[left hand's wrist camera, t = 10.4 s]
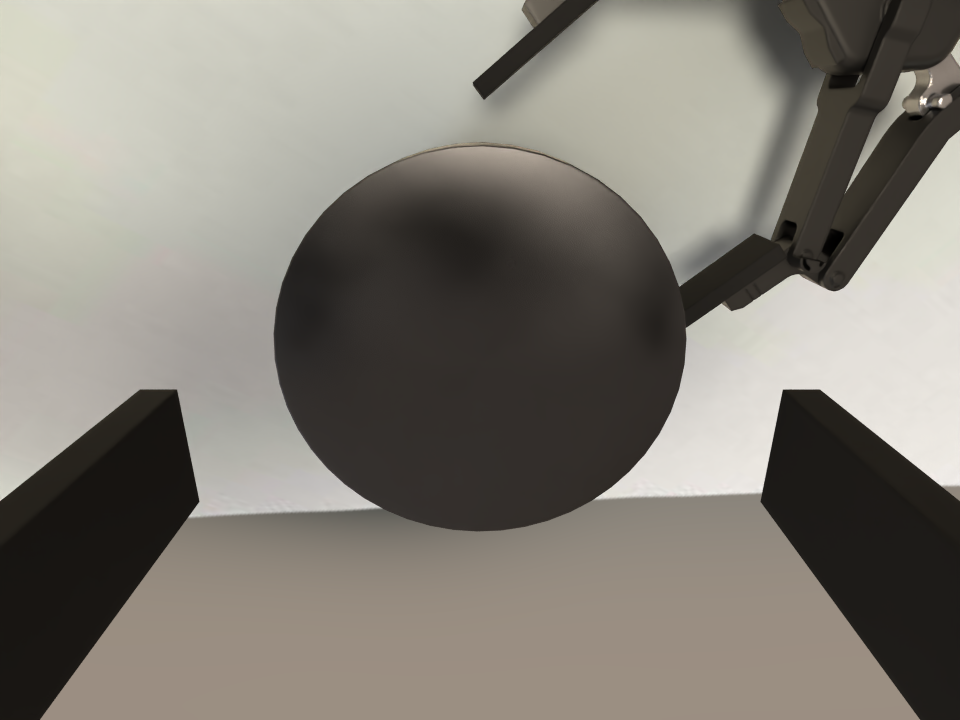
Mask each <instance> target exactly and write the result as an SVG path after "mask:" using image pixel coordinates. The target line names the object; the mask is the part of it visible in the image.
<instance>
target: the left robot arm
mask: <svg viewBox="0 0 960 720" xmlns="http://www.w3.org/2000/svg"><path fill="white" fill-rule="evenodd" d="M198 503H199V497H198V492H197V487H196V482H195V477H194V472H193V467H192V462H191V457H190V452H189V447H188V442H187V437H186V432H185V427H184V422H183V417H182V412H181V407H180V402H179V397H178V392H177V390H139V391H138V392H137V393H135V394H134V395H133V396H132V397H130V398H129V399H128V400H126V401H125V402H124V403H123V404H121V405H120V406H119V407H118V408H116V409H115V410H114V411H113V412H111V413H110V414H109V415H108V416H106V417H105V418H104V419H103V420H101V421H100V422H99V423H98V424H96V425H95V426H94V427H93V428H91V429H90V430H89V431H88V432H86V433H85V434H84V435H83V436H81V437H80V438H79V439H78V440H76V441H75V442H74V443H73V444H71V445H70V446H69V447H68V448H66V449H65V450H64V451H63V452H61V453H60V454H59V455H58V456H56V457H55V458H54V459H53V460H51V461H50V462H49V463H48V464H46V465H45V466H44V467H42V468H41V469H40V470H39V471H37V472H36V473H35V474H34V475H32V476H31V477H30V478H29V479H27V480H26V481H25V482H24V483H22V484H21V485H20V486H19V487H17V488H16V489H15V490H14V491H12V492H11V493H10V494H9V495H7V496H6V497H5V498H4V499H2V500H1V501H0V720H40V719H41V717H42V716H43V715H44V713H45V712H46V710H47V709H48V708H49V706H50V705H51V704H52V702H53V701H54V699H55V698H56V697H57V695H58V694H59V693H60V691H61V690H62V689H63V687H64V686H65V685H66V683H67V682H68V680H69V679H70V678H71V676H72V675H73V674H74V672H75V671H76V670H77V668H78V667H79V665H80V664H81V663H82V661H83V660H84V659H85V657H86V656H87V655H88V653H89V652H90V650H91V649H92V648H93V646H94V645H95V644H96V642H97V641H98V639H99V638H100V637H101V635H102V634H103V633H104V631H105V630H106V629H107V627H108V626H109V624H110V623H111V622H112V620H113V619H114V618H115V616H116V615H117V614H118V612H119V611H120V609H121V608H122V607H123V605H124V604H125V603H126V601H127V600H128V599H129V597H130V596H131V594H132V593H133V592H134V590H135V589H136V588H137V586H138V585H139V583H140V582H141V581H142V579H143V578H144V577H145V575H146V574H147V573H148V571H149V570H150V568H151V567H152V566H153V564H154V563H155V562H156V560H157V559H158V558H159V556H160V555H161V553H162V552H163V551H164V549H165V548H166V547H167V545H168V544H169V542H170V541H171V540H172V538H173V537H174V536H175V534H176V533H177V531H178V530H179V529H180V527H181V526H182V525H183V523H184V522H185V521H186V519H187V518H188V517H189V515H190V514H191V512H192V511H193V510H194V508H195V507H196V506H197V504H198ZM761 503H762V504H763V506H764V507H765V508H766V510H767V511H768V512H769V514H770V515H771V517H772V518H773V519H774V521H775V522H776V523H777V525H778V526H779V527H780V529H781V530H782V532H783V533H784V534H785V536H786V537H787V538H788V540H789V541H790V543H791V544H792V545H793V547H794V548H795V549H796V551H797V552H798V553H799V555H800V556H801V558H802V559H803V560H804V562H805V563H806V564H807V566H808V567H809V568H810V570H811V571H812V573H813V574H814V575H815V577H816V578H817V579H818V581H819V582H820V583H821V585H822V586H823V588H824V589H825V590H826V592H827V593H828V594H829V596H830V597H831V598H832V600H833V601H834V602H835V604H836V605H837V607H838V608H839V609H840V611H841V612H842V614H843V615H844V616H845V618H846V619H847V620H848V622H849V623H850V624H851V626H852V627H853V629H854V630H855V631H856V633H857V634H858V635H859V637H860V638H861V639H862V641H863V642H864V644H865V645H866V646H867V648H868V649H869V650H870V652H871V653H872V654H873V656H874V657H875V659H876V660H877V661H878V663H879V664H880V665H881V667H882V668H883V670H884V671H885V672H886V674H887V675H888V676H889V678H890V679H891V680H892V682H893V683H894V684H895V686H896V687H897V689H898V690H899V691H900V693H901V694H902V695H903V697H904V698H905V700H906V701H907V702H908V704H909V705H910V706H911V708H912V709H913V710H914V712H915V713H916V715H917V716H918V717H919V719H920V720H960V501H959V500H958V499H956V498H955V497H954V496H953V495H951V494H950V493H949V492H948V491H946V490H945V489H944V488H943V487H941V486H940V485H939V484H938V483H936V482H935V481H934V480H933V479H931V478H930V477H929V476H928V475H926V474H925V473H924V472H923V471H921V470H920V469H919V468H918V467H916V466H915V465H914V464H912V463H911V462H910V461H909V460H907V459H906V458H905V457H904V456H902V455H901V454H900V453H899V452H897V451H896V450H895V449H894V448H892V447H891V446H890V445H889V444H887V443H886V442H885V441H884V440H882V439H881V438H880V437H879V436H877V435H876V434H875V433H874V432H872V431H871V430H870V429H869V428H867V427H866V426H865V425H864V424H862V423H861V422H860V421H859V420H857V419H856V418H855V417H854V416H852V415H851V414H850V413H849V412H847V411H846V410H845V409H844V408H842V407H841V406H840V405H839V404H837V403H836V402H835V401H834V400H832V399H831V398H830V397H828V396H827V395H826V394H825V393H823V392H822V391H821V390H783V392H782V397H781V402H780V407H779V412H778V417H777V422H776V427H775V432H774V437H773V442H772V447H771V452H770V457H769V462H768V467H767V472H766V477H765V482H764V487H763V492H762V497H761Z"/></svg>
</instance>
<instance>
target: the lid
mask: <svg viewBox="0 0 960 720" xmlns="http://www.w3.org/2000/svg"><path fill="white" fill-rule="evenodd" d="M685 350H686V326H685V313H684V308H683V303H682V298H681V294H680V289H679V286H678V283H677V280H676V278H675V275H674V272H673V269H672V267H671V264H670V262H669V260H668V258H667V256H666V254H665V253H664V251H663V249H662V247H661V245H660V243H659V241H658V240H657V238H656V237H655V235H654V234H653V233H652V231H651V230H650V229H649V227H648V226H647V225H646V223H645V222H644V221H643V219H642V218H641V217H640V216H639V215H638V214H637V213H636V212H635V211H634V210H633V209H632V208H631V207H630V206H629V205H628V204H627V203H626V202H625V201H624V200H623V199H622V198H621V197H620V196H619V195H618V194H616V193H615V192H614V191H612V190H611V189H610V188H609V187H607V186H606V185H605V184H603V183H602V182H601V181H599V180H598V179H596V178H594V177H593V176H591V175H589V174H587V173H585V172H584V171H582V170H580V169H578V168H576V167H574V166H573V165H571V164H569V163H567V162H565V161H563V160H560V159H558V158H555V157H552V156H550V155H547V154H545V153H542V152H539V151H536V150H532V149H527V148H523V147H519V146H514V145H509V144H497V143H485V142H479V143H461V144H452V145H447V146H442V147H437V148H431V149H427V150H424V151H421V152H419V153H416V154H413V155H410V156H407V157H404V158H402V159H400V160H398V161H396V162H394V163H392V164H390V165H388V166H386V167H384V168H382V169H380V170H378V171H376V172H374V173H372V174H370V175H369V176H367V177H366V178H364V179H363V180H361V181H360V182H358V183H357V184H356V185H354V186H353V187H351V188H350V189H349V190H347V191H346V192H344V193H343V194H342V195H341V196H340V197H339V198H338V199H337V200H336V201H335V202H334V203H333V204H332V205H330V206H329V207H328V208H327V209H326V210H325V211H324V212H323V213H322V215H321V216H320V217H319V218H318V220H317V221H316V222H315V223H314V225H313V226H312V227H311V228H310V230H309V231H308V232H307V234H306V235H305V237H304V238H303V240H302V242H301V244H300V245H299V247H298V249H297V251H296V252H295V254H294V256H293V257H292V260H291V262H290V265H289V267H288V270H287V272H286V275H285V277H284V280H283V282H282V286H281V290H280V294H279V298H278V302H277V307H276V315H275V325H274V351H275V362H276V368H277V373H278V378H279V384H280V387H281V390H282V393H283V396H284V399H285V402H286V405H287V408H288V410H289V412H290V414H291V416H292V418H293V420H294V422H295V424H296V426H297V428H298V430H299V431H300V433H301V434H302V436H303V438H304V439H305V441H306V442H307V444H308V445H309V447H310V448H311V450H312V451H313V452H314V453H315V454H316V455H317V457H318V458H319V459H320V460H321V461H322V463H323V464H324V465H325V466H326V467H327V468H328V469H329V470H330V471H331V472H332V473H333V474H334V475H335V476H336V477H338V478H339V479H340V480H341V481H342V482H343V483H344V484H345V485H347V486H348V487H349V488H351V489H352V490H354V491H355V492H356V493H358V494H359V495H361V496H362V497H363V498H365V499H367V500H369V501H370V502H372V503H374V504H376V505H378V506H379V507H381V508H383V509H385V510H387V511H389V512H392V513H394V514H397V515H399V516H401V517H404V518H406V519H409V520H413V521H416V522H419V523H423V524H426V525H430V526H435V527H441V528H446V529H452V530H465V531H498V530H506V529H513V528H520V527H526V526H529V525H533V524H537V523H541V522H545V521H548V520H551V519H553V518H556V517H558V516H561V515H563V514H566V513H569V512H571V511H573V510H575V509H577V508H579V507H581V506H582V505H584V504H586V503H588V502H590V501H592V500H593V499H595V498H596V497H598V496H599V495H601V494H602V493H604V492H605V491H606V490H608V489H609V488H611V487H612V486H613V485H614V484H616V483H617V482H618V481H619V480H620V479H621V478H622V477H624V476H625V475H626V474H627V473H628V472H629V471H630V470H631V469H632V468H633V467H634V466H635V465H636V464H637V462H638V461H639V460H640V459H641V458H642V457H643V456H644V455H645V454H646V452H647V451H648V449H649V448H650V446H651V445H652V443H653V442H654V441H655V439H656V438H657V436H658V435H659V433H660V431H661V430H662V428H663V426H664V424H665V422H666V420H667V418H668V416H669V414H670V412H671V410H672V407H673V404H674V401H675V399H676V396H677V393H678V390H679V387H680V382H681V378H682V373H683V369H684V363H685Z"/></svg>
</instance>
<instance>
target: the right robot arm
mask: <svg viewBox="0 0 960 720" xmlns="http://www.w3.org/2000/svg"><path fill="white" fill-rule="evenodd" d="M597 1H598V0H526V1H525V3H524V5H523V8H522V11H523V13H524V14H525V16H526V17H527V19H528V20H529V22H530V23H531V25H532V26H533V27H534V29H533V30H532V31H530V32H529V33H528V34H527V35H526V36H525V37H524V38H523V39H521V40H520V41H519V42H518V43H517V44H516V45H515V46H513V47H512V48H511V49H510V50H509V51H508V52H507V53H506V54H504V55H503V56H502V57H501V58H500V59H499V60H498V61H496V62H495V63H494V64H493V65H492V66H491V67H490V68H489V69H487V70H486V71H485V72H484V73H483V74H482V75H481V76H479V77H478V78H477V79H476V80H475V81H474V82H473V86H474V87H475V89H476V90H477V91H478V93H479V94H480V95H481V97H482V98H483V99H484V100H485V99H486V98H487V97H488V96H489V95H490V94H491V93H493V92H494V91H495V90H496V89H497V88H498V87H499V86H501V85H502V84H503V83H504V82H505V81H506V80H508V79H509V78H510V77H511V76H512V75H513V74H514V73H516V72H517V71H518V70H519V69H520V68H521V67H522V66H524V65H525V64H526V63H527V62H528V61H529V60H531V59H532V58H533V57H534V56H535V55H536V54H537V53H539V52H540V51H541V50H542V49H543V48H544V47H545V46H547V45H548V44H549V43H550V42H551V41H552V40H554V39H555V38H556V37H557V36H558V35H559V34H560V33H562V32H563V31H564V30H565V29H566V28H567V27H568V26H570V25H571V24H572V23H573V22H574V21H575V20H577V19H578V18H579V17H580V16H581V15H582V14H583V13H585V12H586V11H587V10H588V9H589V8H590V7H591V6H593V5H594V4H595V3H596V2H597ZM782 1H783V2H781V3H780V4H779V5H778V6H779V8H780V10H781V12H782V14H783V16H784V17H785V19H786V21H787V22H788V23H789V24H790V25H791V26H792V27H793V28H794V29H795V30H796V31H797V32H798V33H799V34H800V37H801V42H802V46H803V51H804V54H805V56H806V58H807V60H808V62H809V63H810V65H811V67H812V68H819V69H821V70H822V71H823V72H825V73H827V74H826V76H825V79H824V82H823V85H822V87H821V90H820V93H819V96H818V99H817V106H818V114H817V116H816V119H815V122H814V124H813V127H812V130H811V133H810V135H809V138H808V141H807V143H806V146H805V149H804V152H803V154H802V157H801V160H800V162H799V165H798V168H797V170H796V173H795V176H794V179H793V181H792V184H791V187H790V189H789V192H788V195H787V198H786V200H785V203H784V206H783V208H782V211H781V214H780V217H779V219H778V222H777V225H776V227H775V230H774V233H773V236H772V238H771V241H770V240H768V239H766V238H763V237H761V236H759V235H756V234H753V235H752V236H750V237H749V238H747V239H746V240H745V241H743V242H742V243H740V244H739V245H737V246H736V247H735V248H733V249H732V250H730V251H729V252H728V253H726V254H725V255H723V256H722V257H721V258H719V259H718V260H716V261H715V262H714V263H712V264H711V265H709V266H708V267H707V268H705V269H704V270H702V271H701V272H700V273H698V274H697V275H695V276H694V277H693V278H691V279H690V280H688V281H687V282H686V283H684V284H683V285H681V286H680V287H679V289H680V294H681V298H682V303H683V308H684V313H685V326H686V327H688V326H689V325H691V324H692V323H694V322H695V321H697V320H698V319H699V318H701V317H702V316H704V315H705V314H707V313H708V312H710V311H711V310H712V309H714V308H715V307H717V306H718V305H720V304H721V303H722V304H723V305H724V306H726V307H727V308H728V309H730V310H731V311H733V310H737V309H741V308H743V307H745V306H746V305H748V304H749V303H751V302H752V301H753V300H755V299H757V298H758V297H760V296H761V295H762V294H764V293H765V292H767V291H768V290H770V289H771V288H773V287H774V286H776V285H777V284H779V283H780V282H782V281H783V280H784V279H786V278H787V277H789V276H791V275H795V274H800V275H801V276H802V277H803V278H805V279H807V280H809V281H811V282H813V283H816V284H818V285H820V286H822V287H824V288H826V289H828V290H831V291H838V290H840V289H842V288H844V287H845V286H846V285H847V284H848V282H849V281H850V280H851V278H852V277H853V275H854V274H855V272H856V271H857V270H858V268H859V267H860V265H861V264H862V262H863V261H864V260H865V258H866V257H867V255H868V254H869V252H870V251H871V250H872V248H873V247H874V245H875V244H876V242H877V241H878V240H879V238H880V237H881V235H882V234H883V232H884V231H885V230H886V228H887V227H888V225H889V224H890V222H891V221H892V220H893V218H894V217H895V215H896V214H897V212H898V211H899V210H900V208H901V207H902V205H903V204H904V202H905V201H906V200H907V198H908V197H909V195H910V194H911V192H912V191H913V190H914V188H915V187H916V185H917V184H918V182H919V181H920V179H921V178H922V177H923V175H924V174H925V172H926V171H927V169H928V168H929V167H930V165H931V164H932V162H933V161H934V159H935V158H936V157H937V155H938V154H939V152H940V151H941V149H942V148H943V147H944V145H945V144H946V142H947V141H948V139H949V138H951V137H952V136H953V135H954V134H955V133H957V132H958V131H959V130H960V67H959V65H958V64H957V62H956V61H955V59H954V58H953V56H952V54H951V52H952V50H953V49H954V47H955V45H956V44H957V42H958V40H959V39H960V0H782ZM910 71H914V73H915V75H916V84H915V87H914V89H913V90H912V92H911V93H910V94H909V96H907V97H905V98H904V100H903V101H902V107H903V108H904V109H905V111H904V112H903V113H902V114H901V115H900V116H899V117H898V118H897V119H896V120H895V122H894V123H893V124H892V125H891V126H890V127H889V129H888V130H887V131H886V133H885V134H884V136H883V137H882V139H881V140H880V142H879V143H878V145H877V146H876V148H875V149H874V151H873V152H872V154H871V155H870V157H869V158H868V160H867V161H866V163H865V164H864V166H863V167H862V169H861V170H860V172H859V173H858V175H857V176H856V178H855V179H854V181H853V182H852V184H851V185H850V187H849V188H848V190H847V191H846V189H847V186H848V184H849V181H850V179H851V176H852V174H853V171H854V169H855V166H856V164H857V161H858V159H859V156H860V154H861V151H862V149H863V147H864V144H865V142H866V139H867V137H868V134H869V132H870V129H871V127H872V124H873V122H874V119H875V117H876V116H877V114H878V113H879V112H881V111H882V110H883V109H884V108H885V107H886V106H887V104H888V102H889V100H890V98H891V95H892V93H893V91H894V88H895V86H896V83H897V81H898V78H899V76H900V73H902V72H910ZM859 75H862V77H861V79H860V81H859V83H858V84H857V85H856V83H857V80H858V77H859ZM855 85H856V86H855ZM845 191H846V193H845ZM844 194H845V195H844Z"/></svg>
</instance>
